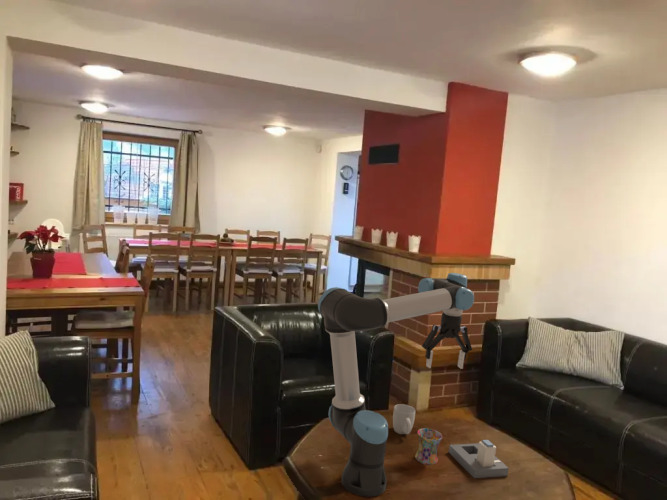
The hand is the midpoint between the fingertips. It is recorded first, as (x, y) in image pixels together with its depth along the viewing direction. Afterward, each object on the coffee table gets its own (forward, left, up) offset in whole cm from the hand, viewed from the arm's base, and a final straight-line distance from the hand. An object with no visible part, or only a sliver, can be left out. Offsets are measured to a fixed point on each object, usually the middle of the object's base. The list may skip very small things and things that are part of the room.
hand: (444, 367), depth 199 cm
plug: (+12, -18, -33) cm, 39 cm away
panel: (+12, -13, -34) cm, 38 cm away
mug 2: (-6, -6, -34) cm, 35 cm away
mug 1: (-6, +14, -34) cm, 37 cm away
